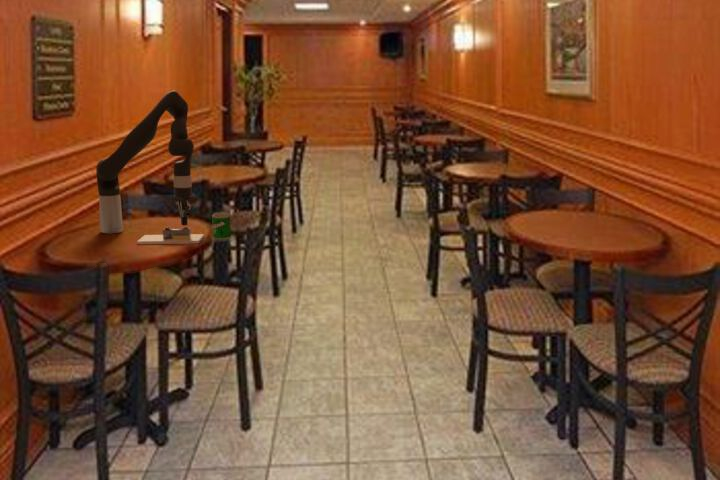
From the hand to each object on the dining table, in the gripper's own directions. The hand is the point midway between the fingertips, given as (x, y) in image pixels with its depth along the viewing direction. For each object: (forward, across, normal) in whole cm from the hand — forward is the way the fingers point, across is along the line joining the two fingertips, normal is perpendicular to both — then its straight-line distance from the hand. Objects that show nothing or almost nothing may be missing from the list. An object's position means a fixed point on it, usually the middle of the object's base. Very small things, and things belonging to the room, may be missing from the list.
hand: (184, 225), depth 335 cm
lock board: (+6, 0, -7) cm, 9 cm away
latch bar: (+4, +4, -6) cm, 8 cm away
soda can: (+6, +14, +10) cm, 19 cm away
